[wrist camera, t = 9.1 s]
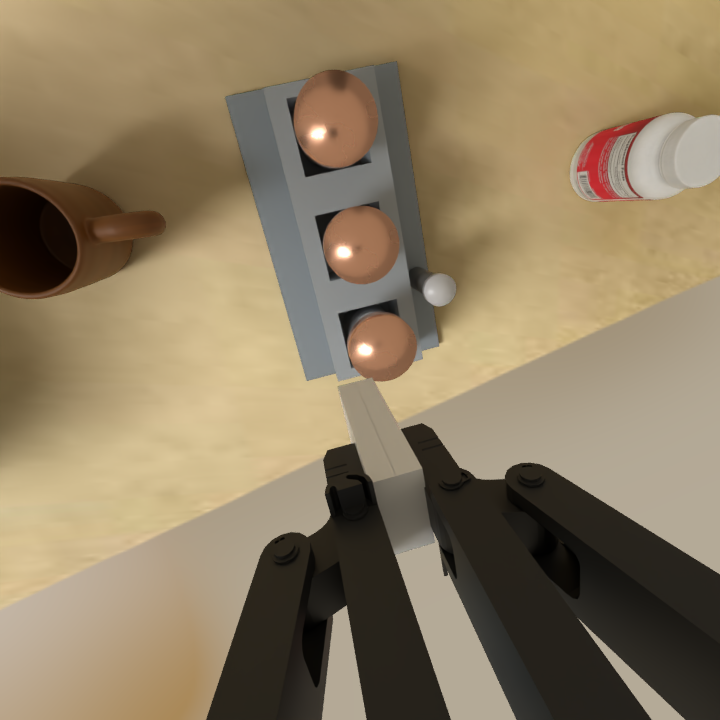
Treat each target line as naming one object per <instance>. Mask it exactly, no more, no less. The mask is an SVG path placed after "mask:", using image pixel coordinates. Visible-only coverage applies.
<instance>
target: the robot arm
mask: <svg viewBox="0 0 720 720" xmlns="http://www.w3.org/2000/svg"><path fill="white" fill-rule="evenodd" d="M338 390H339V395H340V399H341V403H342V407H343V411H344V415H345V419H346V424H347V428H348V432H349V436H350V440H351V444H349V445H345V446H341V447H338V448H334V449H331V450H327V453H326V455H325V457H324V460H323V461H324V467H325V473H326V478H327V484H328V485H327V487H326V490H325V496H326V500H327V503H328V507H329V510H330V514H331V516H330V518H329V520H328V522H327V523H326V524H325V525H324V526H323V527H322V528H321V529H320V530H318V531H317V532H316V533H314V534H312V535H311V536H309V537H306V536H305V535H303V534H301V533H293V532H290V533H287V534H283V535H280V536H278V537H277V538H275V539H273V540H272V541H271V542H270V543H269V544H268V545H267V546H266V547H265V548H264V550H263V552H262V554H261V556H260V559H259V562H258V565H257V568H256V571H255V574H254V577H253V580H252V583H251V586H250V589H249V592H248V595H247V598H246V601H245V604H244V607H243V610H242V613H241V616H240V619H239V622H238V625H237V628H236V632H235V634H234V638H233V641H232V643H231V646H230V649H229V652H228V656H227V658H226V661H225V664H224V667H223V671H222V674H221V677H220V680H219V683H218V686H217V689H216V692H215V695H214V698H213V701H212V704H211V707H210V710H209V713H208V716H207V719H206V720H322V711H323V703H324V694H325V684H326V676H327V667H328V659H329V649H330V640H331V632H332V624H333V614H335V613H336V612H337V611H339V610H340V609H342V608H343V607H345V606H346V605H347V609H348V615H349V620H350V625H351V632H352V638H353V643H354V649H355V655H356V660H357V666H358V672H359V678H360V683H361V689H362V695H363V701H364V707H365V712H366V718H367V720H451V719H450V716H449V713H448V710H447V707H446V704H445V701H444V698H443V695H442V692H441V689H440V686H439V684H438V681H437V677H436V675H435V672H434V669H433V666H432V663H431V660H430V657H429V654H428V651H427V648H426V645H425V642H424V640H423V636H422V633H421V630H420V627H419V624H418V622H417V618H416V616H415V613H414V610H413V607H412V604H411V601H410V598H409V595H408V592H407V589H406V586H405V583H404V580H403V578H402V574H401V571H400V569H399V566H398V562H397V559H396V557H395V555H396V554H400V553H403V552H406V551H409V550H412V549H416V548H419V547H422V546H425V545H429V544H432V543H434V542H435V540H434V535H433V532H434V534H435V536H436V538H437V540H438V542H439V548H440V554H441V560H442V567H443V572H444V576H447V575H448V573H449V575H450V577H451V579H452V581H453V584H454V586H455V588H456V590H457V592H458V594H459V597H460V599H461V601H462V603H463V605H464V607H465V609H466V612H467V614H468V616H469V618H470V620H471V622H472V624H473V627H474V629H475V631H476V633H477V635H478V638H479V640H480V642H481V644H482V646H483V648H484V651H485V653H486V655H487V657H488V659H489V661H490V663H491V665H492V668H493V670H494V672H495V674H496V676H497V679H498V681H499V683H500V685H501V687H502V689H503V691H504V694H505V696H506V698H507V700H508V702H509V704H510V707H511V709H512V711H513V713H514V715H515V717H516V719H517V720H651V718H650V717H649V715H648V714H647V713H646V712H645V710H644V709H643V707H642V706H641V705H640V703H639V702H638V701H637V699H636V698H635V696H634V695H633V694H632V692H631V691H630V689H629V688H628V687H627V685H626V684H625V683H624V681H623V680H622V678H621V677H620V676H619V674H618V673H617V672H616V670H615V669H614V668H613V666H612V665H611V663H610V662H609V661H608V659H607V658H606V656H605V655H604V654H603V652H602V651H601V650H600V648H599V647H598V645H597V644H596V643H595V641H594V640H593V639H592V637H591V636H590V635H589V633H588V632H587V630H586V629H585V628H584V626H583V625H582V623H581V622H580V621H579V619H580V620H581V621H582V622H583V623H584V624H585V625H586V626H587V627H588V628H589V629H590V630H591V631H592V632H593V633H594V634H596V636H598V637H599V638H600V639H601V640H602V641H603V642H604V643H605V644H606V645H607V646H608V647H609V648H610V649H611V650H612V651H614V653H616V654H617V655H618V656H619V657H620V658H621V659H622V660H623V661H624V662H625V663H626V664H627V665H628V666H629V667H630V668H631V669H633V670H634V671H635V672H636V673H637V674H638V675H639V676H640V677H641V678H642V679H643V680H644V681H645V682H646V683H647V684H648V685H649V686H650V687H651V688H653V689H654V690H655V691H656V692H657V693H658V694H659V695H660V696H661V697H662V698H663V699H664V700H665V701H666V702H667V703H668V704H669V705H671V706H672V707H673V708H674V709H675V710H676V711H677V712H678V713H679V714H680V715H681V716H682V717H683V718H684V719H685V720H720V574H718V573H717V572H715V571H713V570H712V569H710V568H709V567H707V566H705V565H704V564H702V563H700V562H699V561H697V560H696V559H694V558H692V557H691V556H689V555H688V554H686V553H684V552H683V551H681V550H680V549H678V548H676V547H675V546H673V545H671V544H670V543H668V542H667V541H665V540H663V539H662V538H660V537H658V536H657V535H655V534H654V533H652V532H651V531H649V530H647V529H646V528H644V527H643V526H641V525H639V524H638V523H636V522H634V521H633V520H631V519H630V518H628V517H626V516H625V515H623V514H622V513H620V512H618V511H617V510H615V509H614V508H612V507H610V506H609V505H607V504H606V503H604V502H602V501H601V500H599V499H597V498H596V497H594V496H593V495H591V494H589V493H588V492H586V491H585V490H583V489H581V488H580V487H578V486H577V485H575V484H573V483H572V482H570V481H569V480H567V479H565V478H564V477H562V476H560V475H559V474H557V473H555V472H554V471H552V470H551V469H549V468H547V467H545V466H543V465H540V464H534V463H520V464H518V465H514V466H512V467H511V468H510V469H508V470H507V472H506V475H505V479H500V480H481V479H476V478H475V477H474V476H473V475H472V474H471V473H470V472H469V471H467V470H464V469H462V468H459V466H458V465H457V463H456V462H455V461H454V459H453V458H452V456H451V455H450V454H449V452H448V451H447V449H446V448H445V446H444V445H443V444H442V442H441V441H440V439H438V436H437V435H436V434H435V432H434V431H433V429H432V428H430V427H428V426H426V425H424V424H422V423H421V424H418V425H414V426H410V427H407V428H404V429H400V427H399V425H398V423H397V422H396V420H395V418H394V416H393V414H392V413H391V411H390V409H389V407H388V405H387V404H386V402H385V400H384V398H383V396H382V395H381V393H380V391H379V389H378V387H377V386H376V384H375V382H374V380H373V378H368V379H365V380H361V381H357V382H353V383H349V384H345V385H342V386H338ZM447 571H448V572H447ZM578 618H579V619H578Z"/></svg>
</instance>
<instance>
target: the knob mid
mask: <svg viewBox="0 0 720 720" xmlns="http://www.w3.org/2000/svg"><path fill="white" fill-rule="evenodd" d="M323 250H324V255H325V258H326V260H327V262H328V264H329V266H330V267H331V268H332V270H333V271H334V272H335V273H336V274H337V275H338V276H339V277H340V278H342V279H343V280H345V281H347V282H350V283H354V284H370V283H373V282H376V281H378V280H380V279H381V278H383V277H384V276H385V275H387V274H388V272H389V271H390V270H391V269H392V267H393V266H394V264H395V262H396V260H397V257H398V253H399V236H398V232H397V229H396V227H395V225H394V223H393V222H392V220H391V219H390V218H389V217H388V216H387V215H386V214H385V213H383V212H382V211H380V210H378V209H376V208H373V207H370V206H354V207H349V208H346V209H344V210H342V211H341V212H339V213H338V214H337V215H335V216H334V217H333V219H332V220H331V221H330V222H329V224H328V225H327V227H326V229H325V233H324V238H323Z"/></svg>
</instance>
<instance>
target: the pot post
mask: <svg viewBox="0 0 720 720" xmlns="http://www.w3.org/2000/svg"><path fill="white" fill-rule="evenodd" d="M408 273H409V279H410V285H411V287H412V288H414V289H416V290H417V291H419V292H420V293H422V294H423V296H424V298H425V299H426V300H427V301H428V302H429V303H431V304H432V305H435V306H444V305H447V304H448V303H450V302H451V301H452V299H453V298H454V296H455V294H456V284H455V281H454V280H453V279H452V278H451V277H450V276H448V275H446V274H443V273H432V272H430V271H427V270H425V269H423V268H420V267H415V268H412V269H411V270H410V271H409V272H408Z"/></svg>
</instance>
